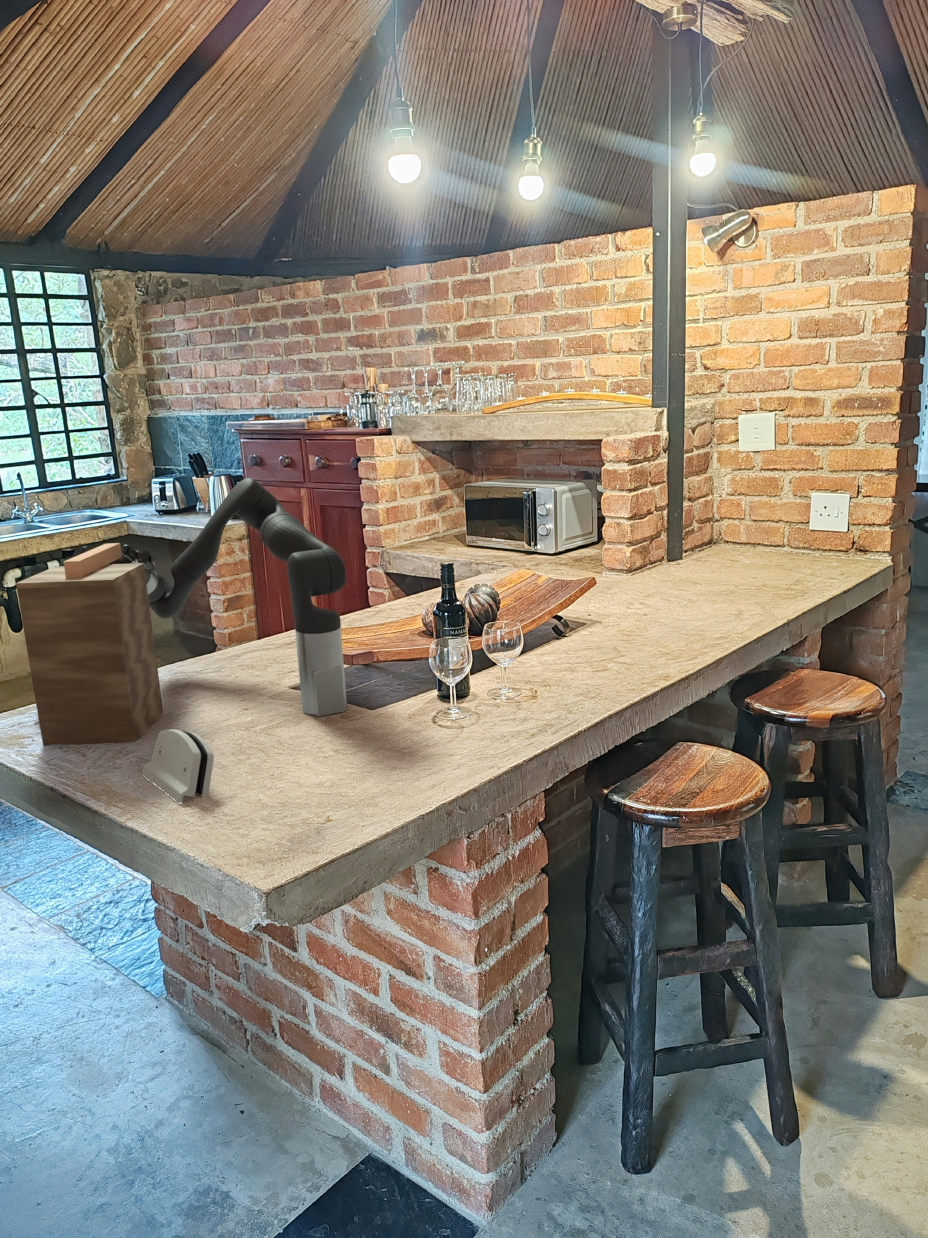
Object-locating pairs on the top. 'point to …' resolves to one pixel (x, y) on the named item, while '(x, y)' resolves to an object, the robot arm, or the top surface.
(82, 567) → the tan block
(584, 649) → the top surface
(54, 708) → the pedestal
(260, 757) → the top surface
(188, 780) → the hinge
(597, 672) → the top surface
